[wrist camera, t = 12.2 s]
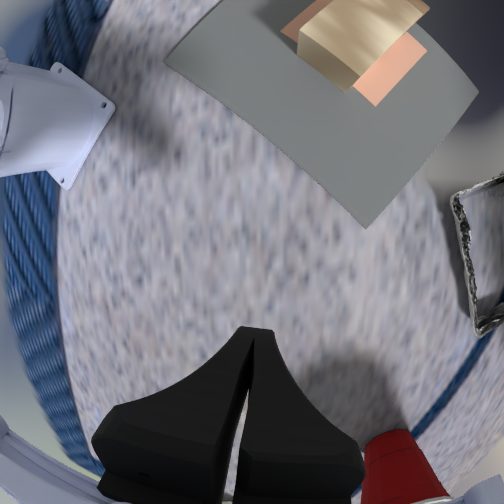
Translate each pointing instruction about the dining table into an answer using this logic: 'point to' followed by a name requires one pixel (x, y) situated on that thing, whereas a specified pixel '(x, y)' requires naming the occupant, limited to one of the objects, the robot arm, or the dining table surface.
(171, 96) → the dining table surface
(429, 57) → the rubber mat
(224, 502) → the coffee can
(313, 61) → the maple block
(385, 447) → the plastic cup
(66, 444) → the dining table surface
